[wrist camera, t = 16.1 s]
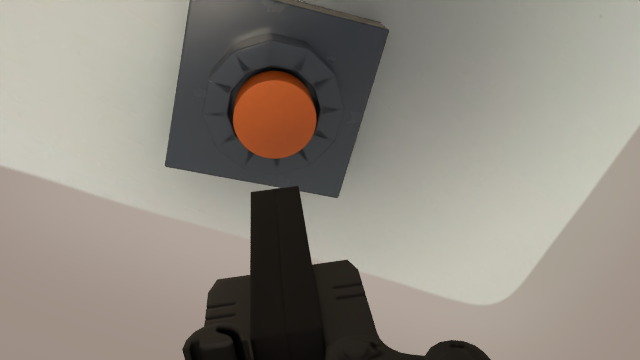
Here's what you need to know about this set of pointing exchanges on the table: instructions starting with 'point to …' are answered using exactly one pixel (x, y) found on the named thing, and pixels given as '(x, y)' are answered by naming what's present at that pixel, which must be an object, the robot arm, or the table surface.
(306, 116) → the button
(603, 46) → the table surface
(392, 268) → the table surface
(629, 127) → the table surface
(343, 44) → the control box
